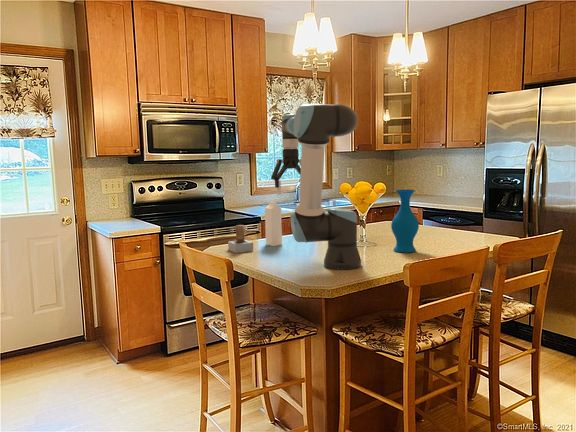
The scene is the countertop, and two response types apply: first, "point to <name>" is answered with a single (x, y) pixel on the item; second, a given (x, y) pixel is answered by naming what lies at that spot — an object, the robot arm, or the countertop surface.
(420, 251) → the countertop surface
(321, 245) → the countertop surface
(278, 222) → the milk
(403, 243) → the vase
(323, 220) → the robot arm
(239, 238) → the peg
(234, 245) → the socket block
